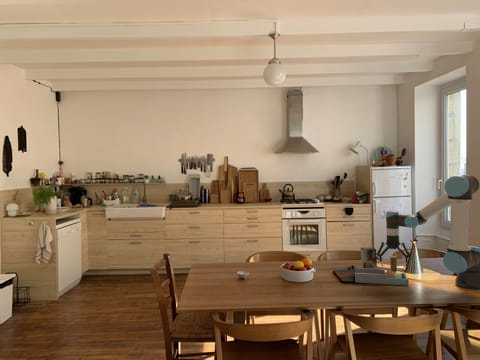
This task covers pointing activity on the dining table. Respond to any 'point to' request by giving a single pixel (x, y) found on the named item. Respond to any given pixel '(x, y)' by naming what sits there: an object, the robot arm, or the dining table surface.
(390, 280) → the chute tray
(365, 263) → the coffee box
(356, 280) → the slot board
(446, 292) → the dining table surface
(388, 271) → the peach cube block
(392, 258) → the brown block with tab
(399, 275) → the cream cube
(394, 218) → the robot arm
